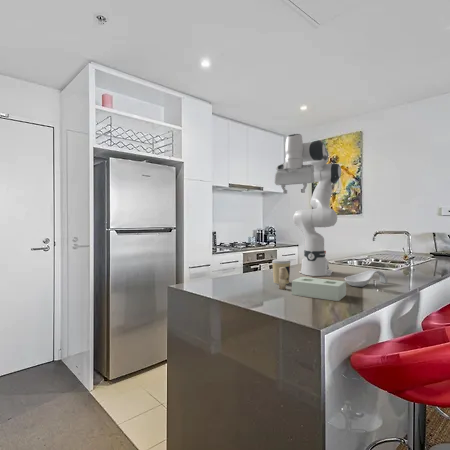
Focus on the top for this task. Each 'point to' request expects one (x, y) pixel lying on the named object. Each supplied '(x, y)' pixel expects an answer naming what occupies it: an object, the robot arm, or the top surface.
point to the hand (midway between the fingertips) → (293, 193)
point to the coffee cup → (278, 264)
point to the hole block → (319, 288)
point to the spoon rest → (364, 278)
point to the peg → (282, 278)
